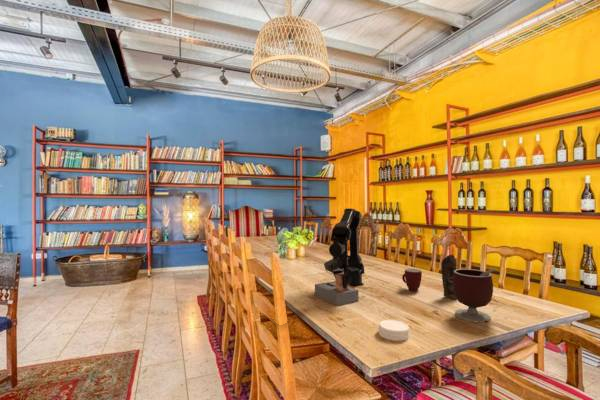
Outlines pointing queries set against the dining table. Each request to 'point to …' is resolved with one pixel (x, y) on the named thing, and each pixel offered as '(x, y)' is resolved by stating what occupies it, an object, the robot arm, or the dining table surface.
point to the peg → (339, 283)
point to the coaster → (394, 330)
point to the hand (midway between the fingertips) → (341, 287)
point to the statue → (448, 275)
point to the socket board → (335, 294)
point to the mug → (412, 278)
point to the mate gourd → (473, 292)
